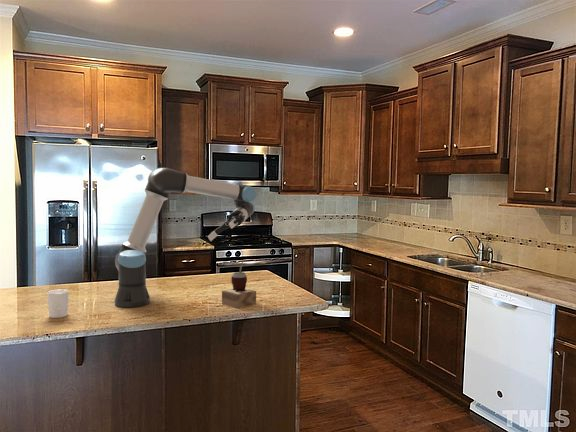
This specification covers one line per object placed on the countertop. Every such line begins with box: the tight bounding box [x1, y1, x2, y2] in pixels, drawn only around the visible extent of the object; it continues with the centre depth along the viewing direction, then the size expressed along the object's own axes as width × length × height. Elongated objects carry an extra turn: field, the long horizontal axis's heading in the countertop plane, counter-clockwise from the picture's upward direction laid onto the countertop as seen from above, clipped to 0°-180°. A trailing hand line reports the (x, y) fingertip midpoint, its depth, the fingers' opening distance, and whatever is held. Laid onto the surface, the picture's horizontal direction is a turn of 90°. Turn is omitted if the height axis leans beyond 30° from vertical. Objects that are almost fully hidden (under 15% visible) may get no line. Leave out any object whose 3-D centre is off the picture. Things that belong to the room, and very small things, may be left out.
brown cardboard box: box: [221, 288, 257, 310], centre depth 212 cm, size 11×11×6 cm
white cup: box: [46, 289, 70, 319], centre depth 189 cm, size 8×8×10 cm
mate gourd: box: [230, 259, 248, 292], centre depth 211 cm, size 8×8×15 cm
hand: (219, 232), depth 216 cm, fingers open, 13 cm apart
